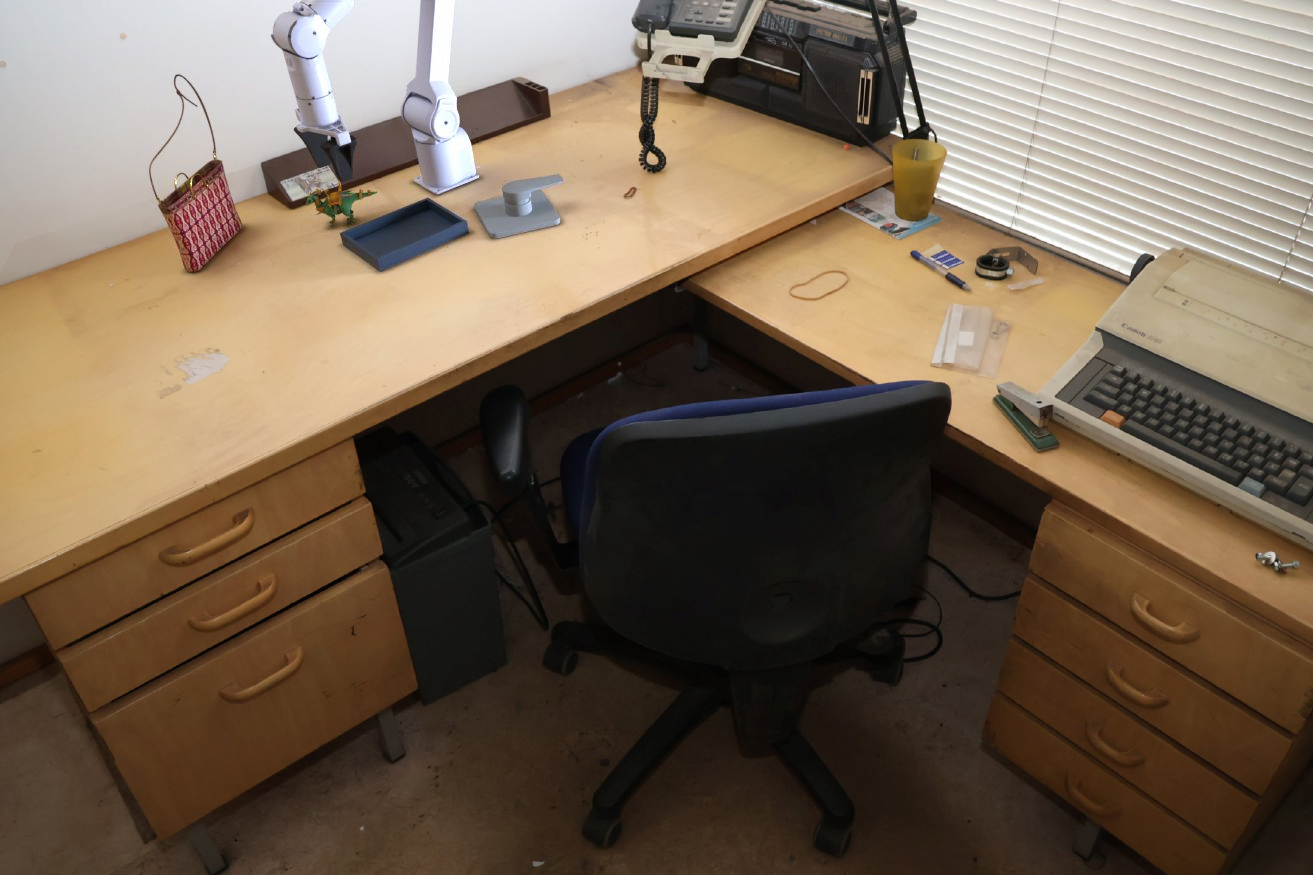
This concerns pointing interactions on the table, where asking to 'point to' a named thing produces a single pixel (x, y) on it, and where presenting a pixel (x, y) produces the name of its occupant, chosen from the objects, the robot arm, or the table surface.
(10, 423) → the table surface
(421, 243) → the tray
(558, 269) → the table surface
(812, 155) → the table surface
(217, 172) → the handbag
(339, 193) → the figurine
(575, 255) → the table surface
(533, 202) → the shower valve
